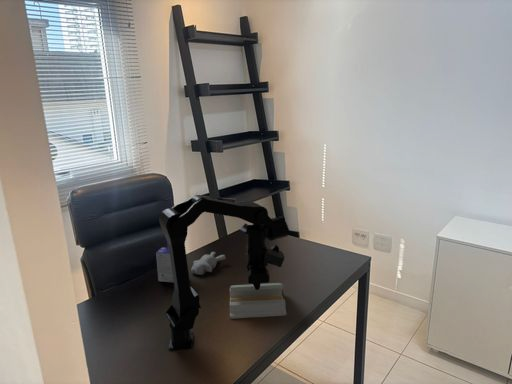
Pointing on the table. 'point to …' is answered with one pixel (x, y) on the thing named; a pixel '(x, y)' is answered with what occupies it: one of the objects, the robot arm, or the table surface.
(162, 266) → the ink cartridge box
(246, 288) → the duct cover
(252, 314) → the base
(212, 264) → the bunny figurine
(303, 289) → the table surface
